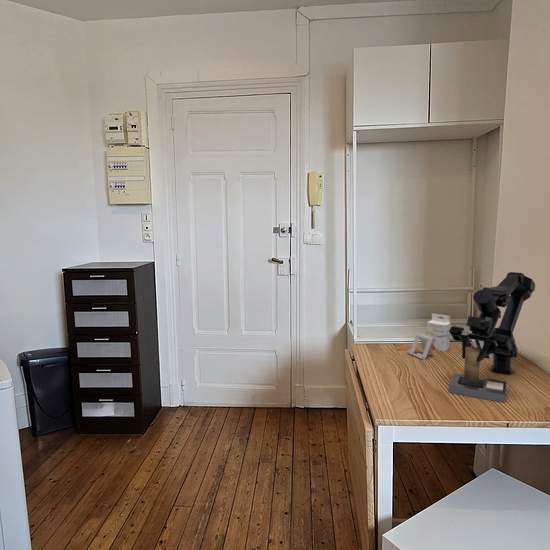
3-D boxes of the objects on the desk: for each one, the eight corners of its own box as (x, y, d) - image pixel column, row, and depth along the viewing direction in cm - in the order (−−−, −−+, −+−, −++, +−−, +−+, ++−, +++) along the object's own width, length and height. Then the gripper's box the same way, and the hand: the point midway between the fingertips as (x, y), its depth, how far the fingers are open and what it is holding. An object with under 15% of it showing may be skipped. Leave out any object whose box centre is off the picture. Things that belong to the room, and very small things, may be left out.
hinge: (491, 358, 166) (482, 334, 166) (478, 361, 168) (470, 337, 168) (492, 347, 180) (485, 325, 180) (481, 349, 182) (473, 327, 183)
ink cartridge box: (425, 347, 181) (426, 314, 179) (430, 345, 185) (431, 312, 183) (445, 351, 175) (446, 317, 173) (449, 349, 179) (451, 315, 177)
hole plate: (453, 380, 145) (453, 372, 144) (506, 388, 136) (506, 380, 136) (448, 392, 134) (448, 384, 134) (504, 402, 126) (505, 393, 126)
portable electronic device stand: (407, 354, 173) (407, 334, 172) (421, 351, 176) (422, 332, 175) (422, 360, 165) (423, 340, 164) (437, 357, 169) (437, 337, 168)
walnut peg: (463, 375, 139) (464, 346, 137) (477, 376, 137) (478, 347, 136) (465, 380, 134) (466, 350, 133) (480, 381, 133) (481, 351, 132)
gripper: (452, 302, 143) (434, 340, 137) (510, 311, 128) (493, 353, 123) (462, 321, 149) (446, 357, 143) (519, 331, 134) (503, 372, 129)
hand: (470, 359), depth 134 cm, fingers closed on walnut peg, 4 cm apart
